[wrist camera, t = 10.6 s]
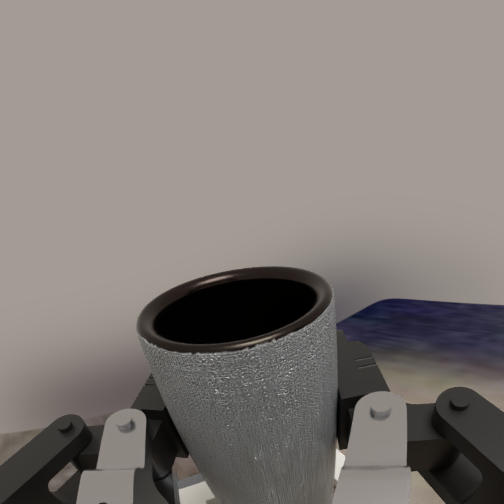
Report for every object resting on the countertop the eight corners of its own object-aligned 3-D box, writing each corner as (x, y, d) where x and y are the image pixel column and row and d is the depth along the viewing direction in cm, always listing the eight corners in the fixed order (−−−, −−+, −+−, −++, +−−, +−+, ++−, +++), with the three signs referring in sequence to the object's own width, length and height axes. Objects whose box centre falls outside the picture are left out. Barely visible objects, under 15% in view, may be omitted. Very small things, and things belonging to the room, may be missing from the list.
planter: (334, 539, 6) (355, 334, 4) (221, 541, 7) (96, 350, 5) (328, 462, 11) (319, 257, 8) (235, 468, 11) (174, 275, 9)
